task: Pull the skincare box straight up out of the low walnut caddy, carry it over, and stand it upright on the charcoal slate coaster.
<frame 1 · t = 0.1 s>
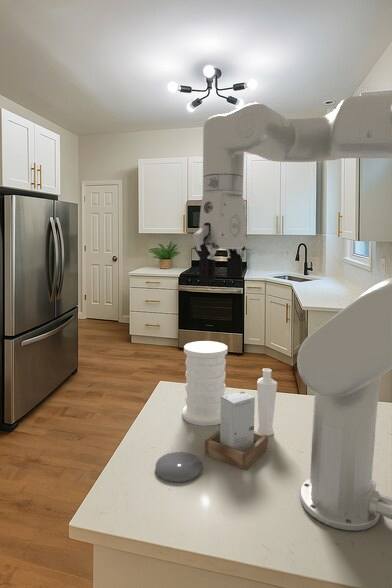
hand: (221, 279, 73), 37 cm above the kitchen island, tool pointing down, fingers open, 9 cm apart
decorative container: (205, 415, 97), on the kitchen island
coaster: (178, 468, 74), on the kitchen island
caddy: (236, 451, 80), on the kitchen island
perfume bottle: (264, 432, 88), on the kitchen island
skincare box: (236, 452, 80), resting in caddy
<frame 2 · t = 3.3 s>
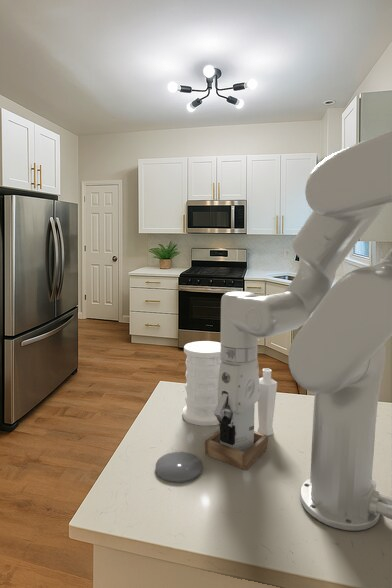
hand: (237, 434, 80), 4 cm above the kitchen island, tool pointing down, fingers closed on skincare box, 7 cm apart
skincare box: (236, 452, 80), resting in caddy, touching gripper
everything else where it was.
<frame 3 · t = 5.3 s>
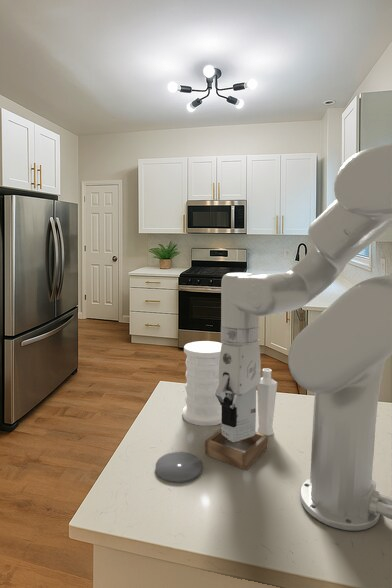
hand: (238, 417, 79), 8 cm above the kitchen island, tool pointing down, fingers closed on skincare box, 7 cm apart
skincare box: (238, 435, 79), point 4 cm above the kitchen island, touching gripper
everything else where it was.
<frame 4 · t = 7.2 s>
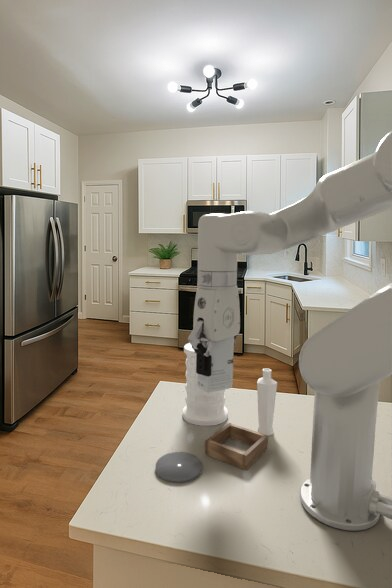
hand: (215, 368, 75), 19 cm above the kitchen island, tool pointing down, fingers closed on skincare box, 7 cm apart
skincare box: (215, 387, 76), point 15 cm above the kitchen island, touching gripper
everything else where it was.
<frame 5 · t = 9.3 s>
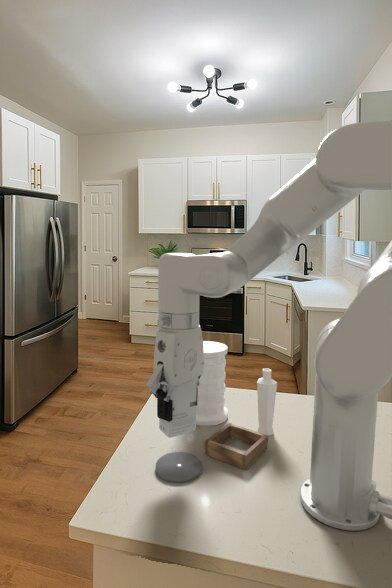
hand: (177, 411, 72), 12 cm above the kitchen island, tool pointing down, fingers closed on skincare box, 7 cm apart
skincare box: (177, 430, 73), point 8 cm above the kitchen island, touching gripper
everything else where it was.
when the fingers open (7 cm above the kitchen island, at t = 11.2 s): skincare box drops 2 cm, resting on coaster.
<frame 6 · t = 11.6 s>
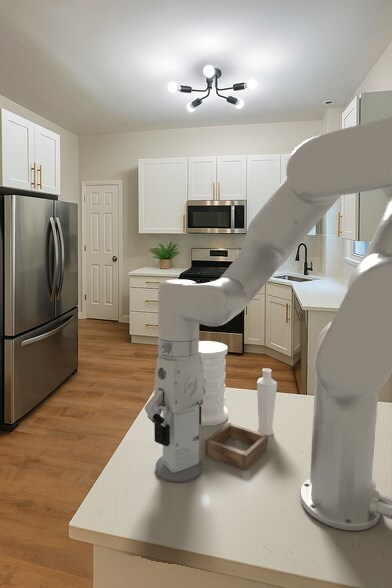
hand: (178, 432, 73), 7 cm above the kitchen island, tool pointing down, fingers open, 9 cm apart
skincare box: (181, 464, 74), point 1 cm above the kitchen island, touching coaster
everything else where it was.
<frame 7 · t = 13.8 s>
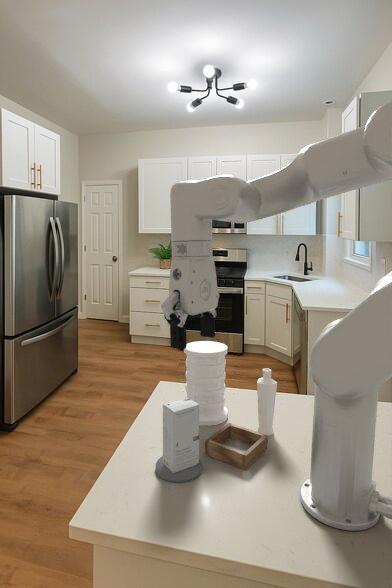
hand: (193, 341, 72), 25 cm above the kitchen island, tool pointing down, fingers open, 9 cm apart
nothing on the kitchen island moved.
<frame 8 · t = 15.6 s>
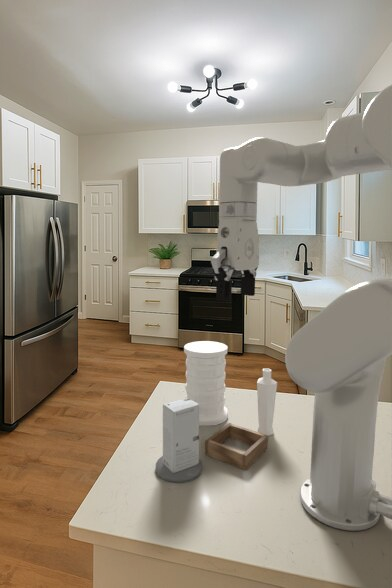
hand: (236, 297, 78), 32 cm above the kitchen island, tool pointing down, fingers open, 9 cm apart
nothing on the kitchen island moved.
at the end: skincare box 0.5 cm off-centre on the coaster, point 0.6 cm above the coaster's base; skincare box tilted 0°; the gripper is holding nothing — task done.
